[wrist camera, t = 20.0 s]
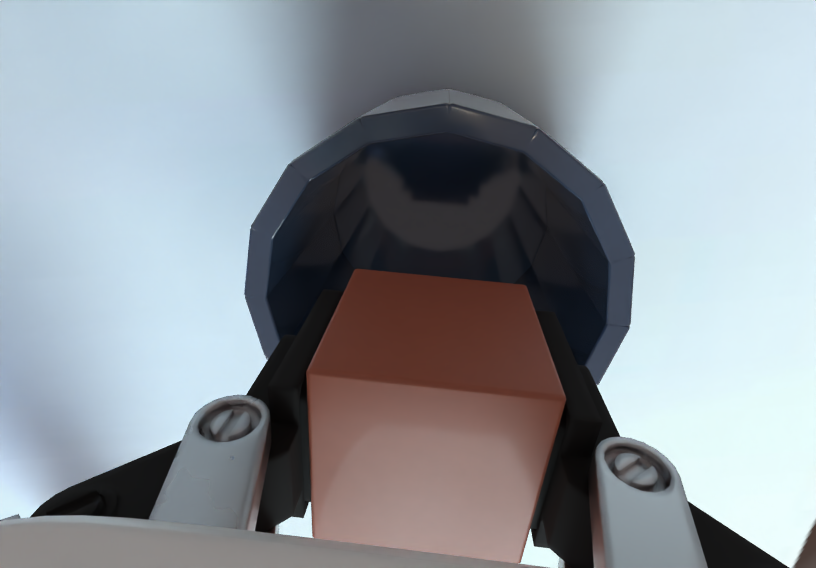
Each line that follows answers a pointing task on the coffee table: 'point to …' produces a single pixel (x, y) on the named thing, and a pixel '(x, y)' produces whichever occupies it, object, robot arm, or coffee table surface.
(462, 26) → the coffee table surface
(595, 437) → the robot arm
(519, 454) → the block
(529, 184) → the crock
